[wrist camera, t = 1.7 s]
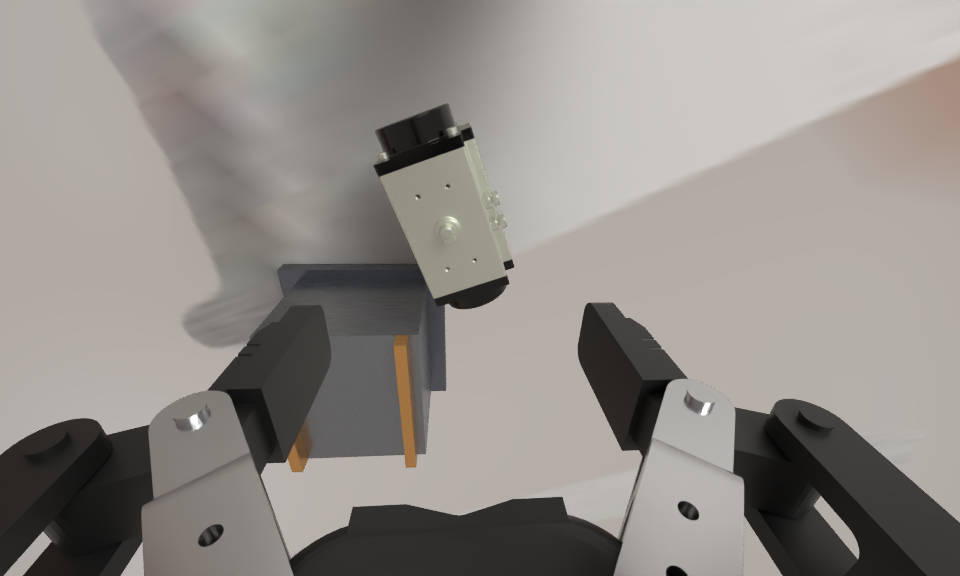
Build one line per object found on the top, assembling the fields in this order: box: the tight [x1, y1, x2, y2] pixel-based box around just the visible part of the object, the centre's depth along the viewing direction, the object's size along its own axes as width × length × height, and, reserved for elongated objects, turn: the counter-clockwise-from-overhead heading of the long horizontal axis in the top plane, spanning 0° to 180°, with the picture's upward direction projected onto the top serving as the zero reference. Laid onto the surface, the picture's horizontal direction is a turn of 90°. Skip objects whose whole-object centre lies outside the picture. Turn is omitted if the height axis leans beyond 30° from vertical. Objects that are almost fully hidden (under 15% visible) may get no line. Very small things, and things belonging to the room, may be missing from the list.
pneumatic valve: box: [374, 104, 514, 309], centre depth 24 cm, size 6×12×12 cm, turn 18°
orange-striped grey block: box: [250, 264, 446, 472], centre depth 31 cm, size 15×14×11 cm
